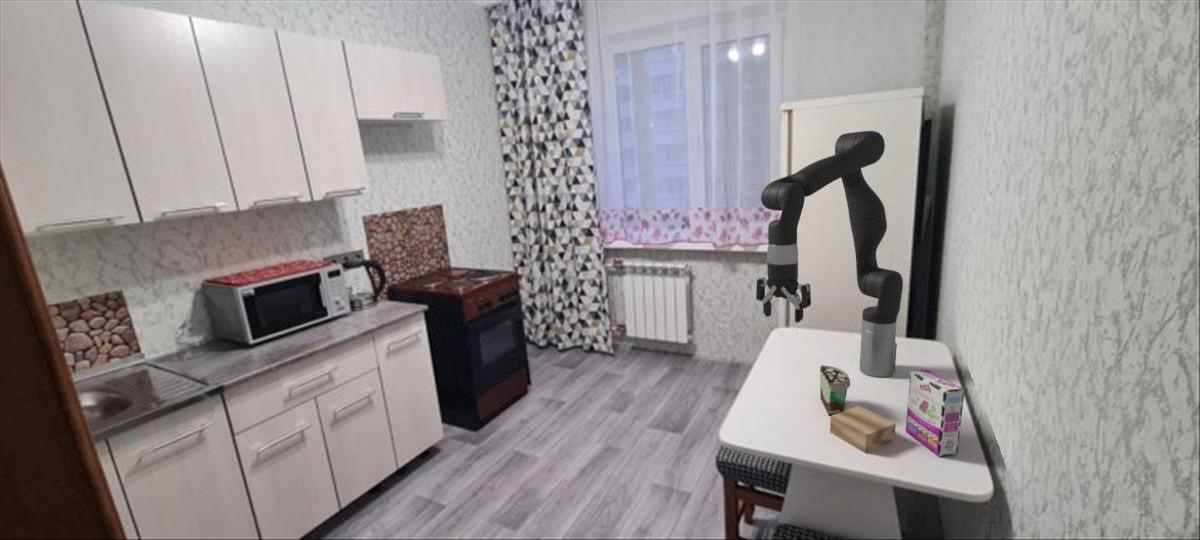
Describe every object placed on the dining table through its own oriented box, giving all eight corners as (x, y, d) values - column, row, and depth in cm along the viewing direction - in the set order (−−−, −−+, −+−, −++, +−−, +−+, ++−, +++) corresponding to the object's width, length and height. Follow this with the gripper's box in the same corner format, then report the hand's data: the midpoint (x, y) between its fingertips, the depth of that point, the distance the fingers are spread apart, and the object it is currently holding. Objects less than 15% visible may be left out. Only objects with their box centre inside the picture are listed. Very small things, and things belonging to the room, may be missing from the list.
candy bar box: (959, 455, 111) (966, 389, 107) (938, 457, 110) (945, 391, 107) (923, 429, 122) (928, 368, 118) (904, 431, 121) (909, 370, 117)
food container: (855, 419, 128) (856, 385, 125) (829, 418, 129) (831, 384, 127) (842, 397, 139) (843, 364, 137) (819, 396, 141) (820, 364, 138)
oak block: (858, 423, 127) (859, 405, 125) (894, 442, 118) (895, 423, 116) (830, 433, 123) (830, 415, 122) (865, 454, 114) (866, 435, 113)
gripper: (816, 259, 124) (815, 319, 127) (765, 254, 134) (765, 310, 138) (802, 266, 119) (801, 328, 123) (750, 260, 129) (751, 317, 133)
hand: (782, 318), depth 130 cm, fingers open, 8 cm apart
